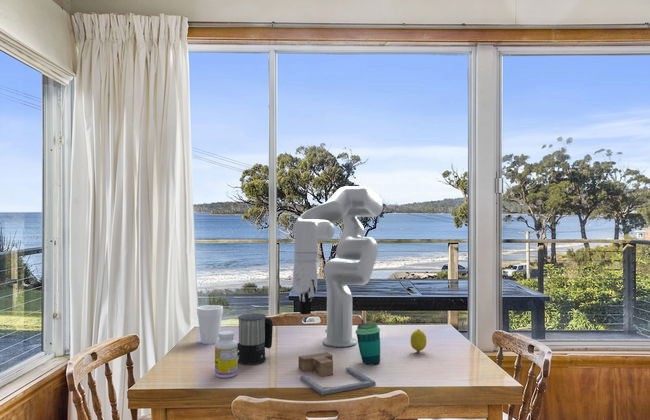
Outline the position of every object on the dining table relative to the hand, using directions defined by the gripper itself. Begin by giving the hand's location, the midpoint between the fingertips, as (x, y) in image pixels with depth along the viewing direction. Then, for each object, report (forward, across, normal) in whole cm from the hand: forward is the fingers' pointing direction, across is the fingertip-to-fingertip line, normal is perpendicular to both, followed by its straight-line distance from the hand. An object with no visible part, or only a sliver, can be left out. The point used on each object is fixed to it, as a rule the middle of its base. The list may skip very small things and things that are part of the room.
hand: (305, 313), depth 164 cm
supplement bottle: (+16, +1, -26) cm, 31 cm away
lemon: (+16, +7, +40) cm, 44 cm away
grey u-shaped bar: (+16, +21, 0) cm, 27 cm away
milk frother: (+16, -13, -16) cm, 26 cm away
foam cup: (+16, -39, -22) cm, 47 cm away
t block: (+16, +10, +1) cm, 19 cm away
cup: (+16, +9, +18) cm, 26 cm away
